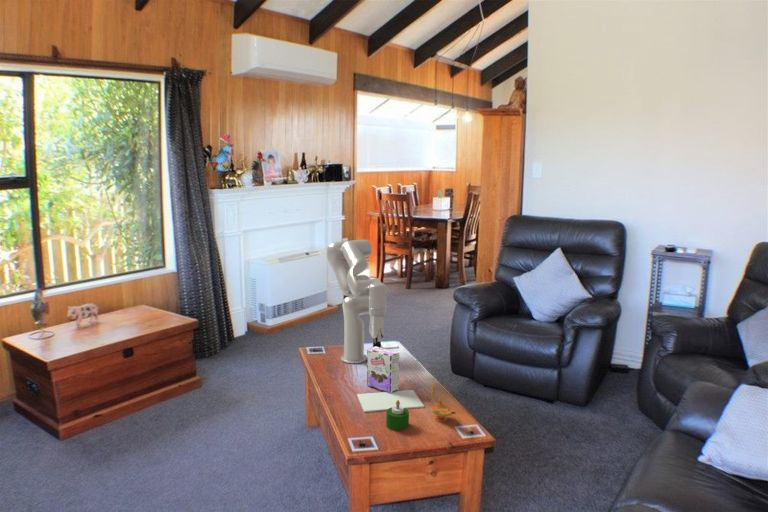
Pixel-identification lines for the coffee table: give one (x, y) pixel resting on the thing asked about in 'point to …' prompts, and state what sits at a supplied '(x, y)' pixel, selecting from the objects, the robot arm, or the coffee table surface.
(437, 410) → the magic lamp
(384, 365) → the candy box
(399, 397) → the mat
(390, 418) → the candle
